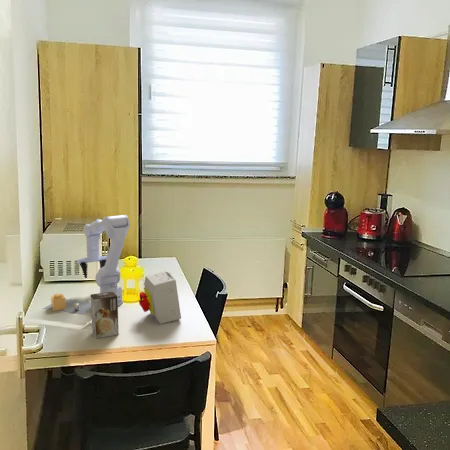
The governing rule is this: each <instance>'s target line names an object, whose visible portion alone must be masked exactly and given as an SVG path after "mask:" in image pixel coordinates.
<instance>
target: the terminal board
mask: <svg viewBox="0 0 450 450" xmlns="http://www.w3.org/2000/svg"><path fill="white" fill-rule="evenodd" d="M75 303H79V311H74V304H75ZM65 306H66V309H62V310H55V311H56V312H62V313H71V314H77V315H85V314H86V313H88V312H90V311H91V301H84V300H76V299H67V298H65ZM42 310H49V311H54V310H53V309H52V306H51V304H49V305H47V306H45V307H43V308H42Z"/></svg>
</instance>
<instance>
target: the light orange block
mask: <svg viewBox="0 0 450 450" xmlns="http://www.w3.org/2000/svg"><path fill="white" fill-rule="evenodd" d="M65 299H66V297H65V296H64V294H62V293H55V294H53V295H51V296H50V302H51V306H52V309H53V310H52V311H53V312H54V311H55V310H62V309H66V306H65Z"/></svg>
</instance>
